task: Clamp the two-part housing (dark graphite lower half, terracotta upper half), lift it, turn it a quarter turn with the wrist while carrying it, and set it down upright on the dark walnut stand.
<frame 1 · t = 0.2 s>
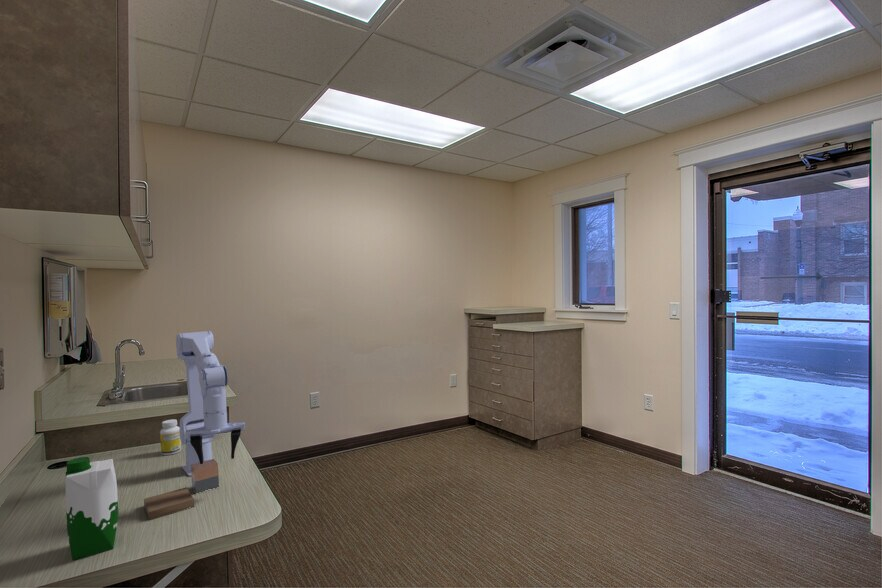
hand: (217, 460, 126), 10 cm above the countertop, tool pointing down, fingers open, 7 cm apart
walnut stand: (169, 506, 120), on the countertop
supplement bottle: (171, 453, 163), on the countertop
housing: (205, 488, 131), on the countertop
milk carton: (94, 548, 102), on the countertop
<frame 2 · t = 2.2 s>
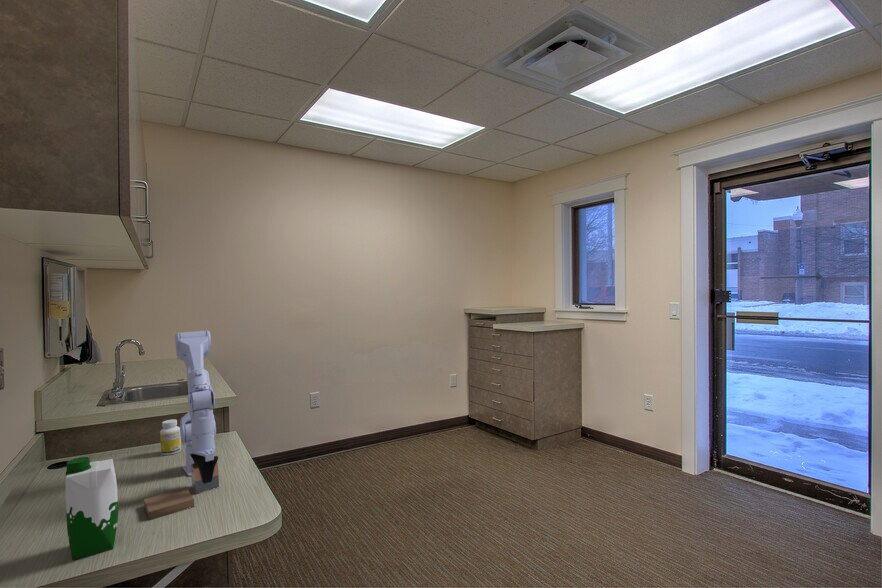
hand: (205, 479, 131), 2 cm above the countertop, tool pointing down, fingers closed on housing, 5 cm apart
housing: (205, 487, 131), on the countertop, touching gripper
everything else where it was.
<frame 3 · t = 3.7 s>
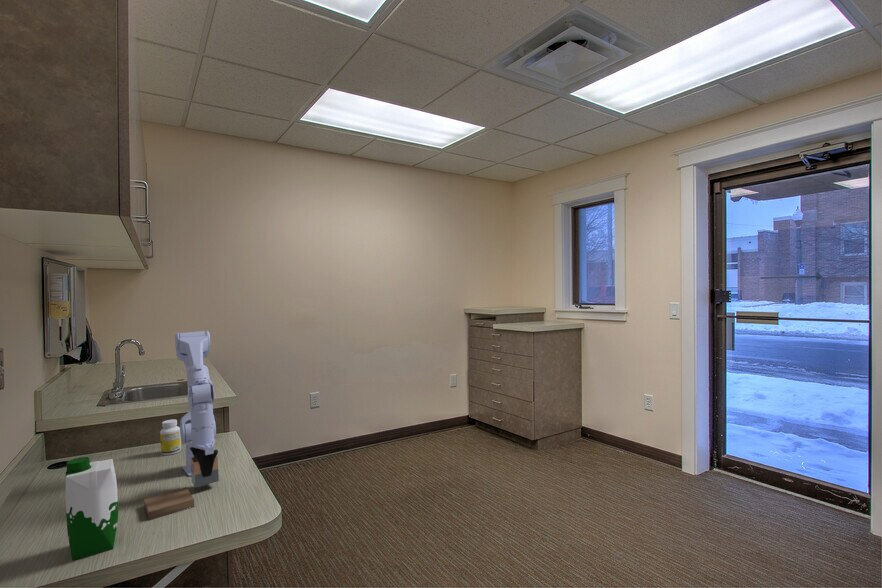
hand: (204, 473, 131), 4 cm above the countertop, tool pointing down, fingers closed on housing, 5 cm apart
housing: (205, 481, 131), point 2 cm above the countertop, touching gripper
everything else where it was.
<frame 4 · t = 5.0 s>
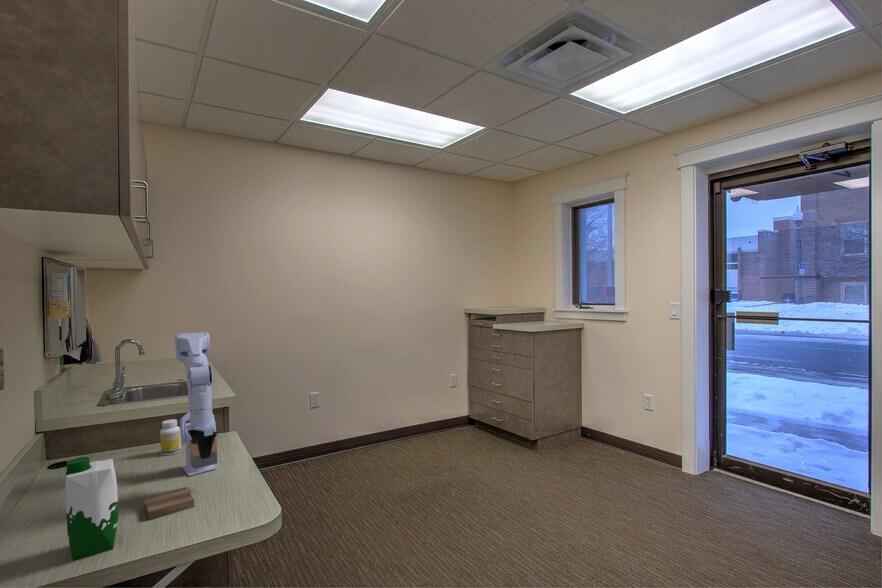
hand: (203, 455, 131), 9 cm above the countertop, tool pointing down, fingers closed on housing, 5 cm apart
housing: (203, 463, 131), point 7 cm above the countertop, touching gripper
everything else where it was.
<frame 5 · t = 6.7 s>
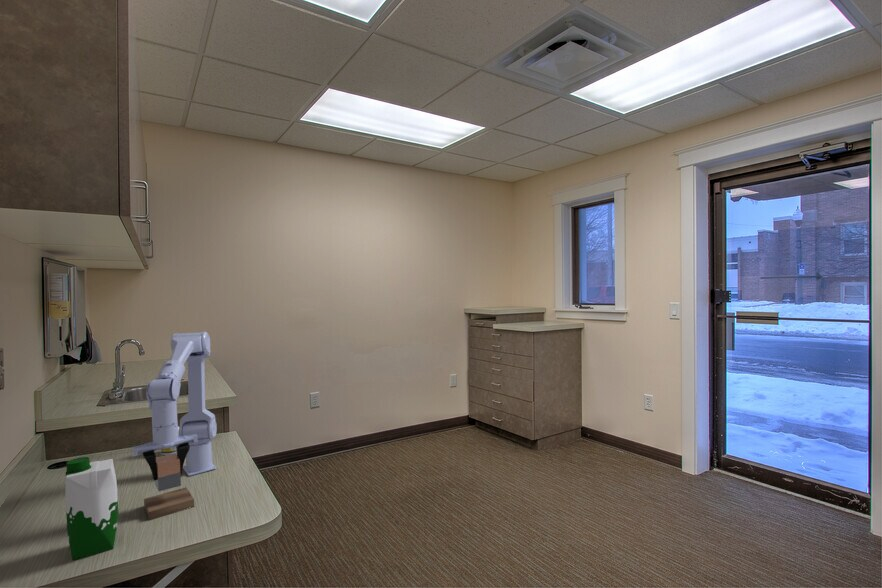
hand: (167, 475, 120), 8 cm above the countertop, tool pointing down, fingers closed on housing, 5 cm apart
housing: (168, 485, 120), point 6 cm above the countertop, touching gripper
everything else where it was.
when the fingers open (6 cm above the countertop, at t = 8.0 s): housing drops 1 cm, resting on walnut stand.
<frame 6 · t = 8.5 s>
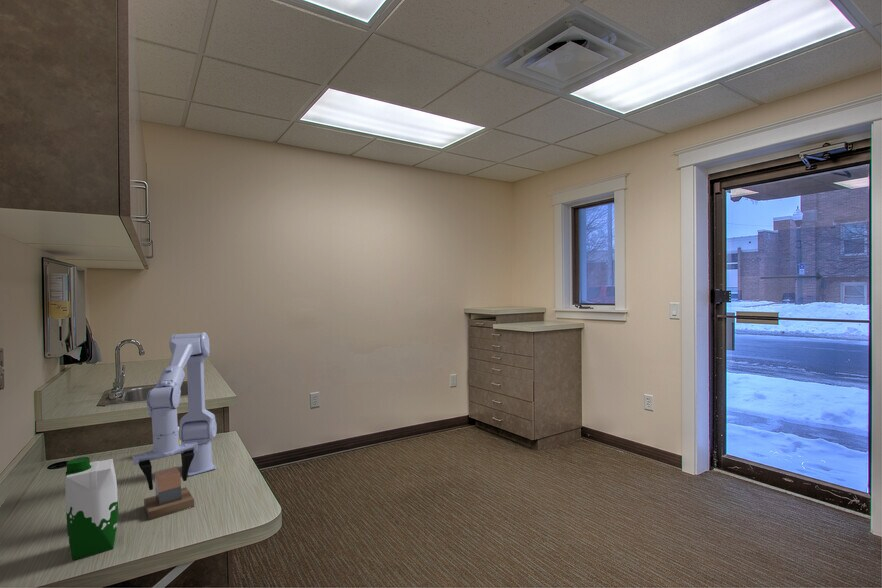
hand: (168, 484, 120), 6 cm above the countertop, tool pointing down, fingers open, 7 cm apart
housing: (168, 498, 120), point 2 cm above the countertop, touching walnut stand
everything else where it was.
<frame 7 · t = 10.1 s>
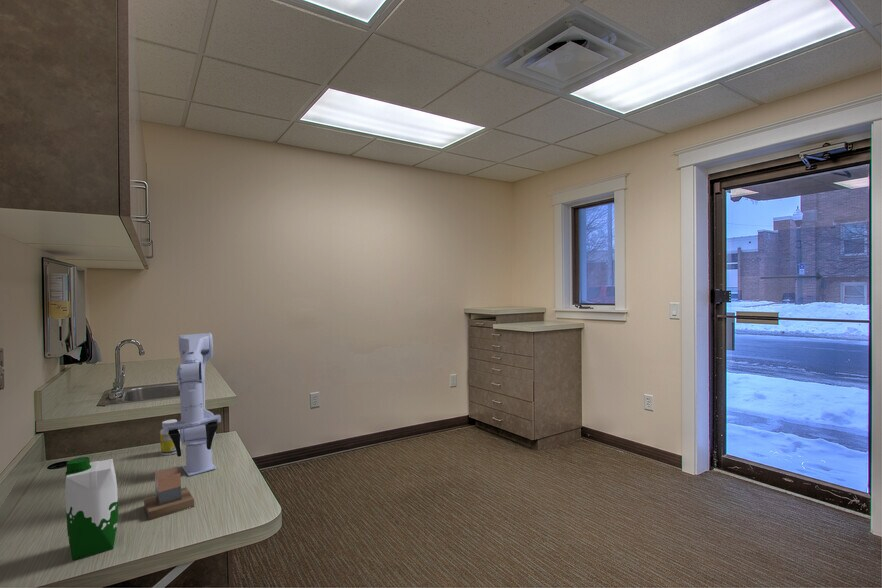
hand: (194, 452, 131), 10 cm above the countertop, tool pointing down, fingers open, 7 cm apart
nothing on the countertop moved.
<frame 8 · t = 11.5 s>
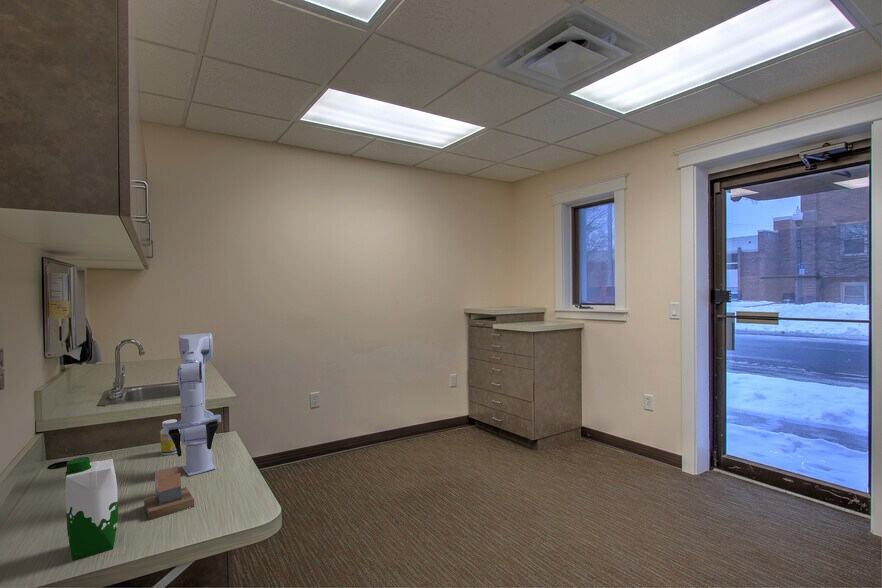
hand: (194, 451, 131), 10 cm above the countertop, tool pointing down, fingers open, 7 cm apart
nothing on the countertop moved.
at the end: housing inside the target area on the walnut stand (0.0 cm from its centre), point 2.0 cm above the walnut stand's base; housing tilted 0°; the gripper is holding nothing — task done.
